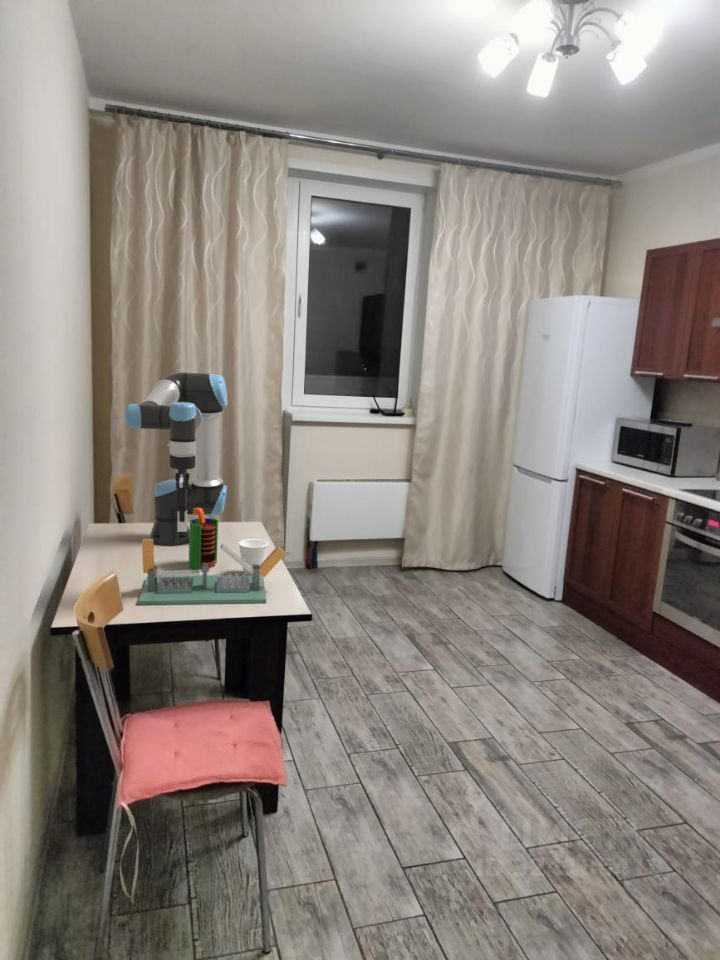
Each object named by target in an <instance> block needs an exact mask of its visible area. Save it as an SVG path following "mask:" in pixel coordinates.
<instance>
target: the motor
mask: <svg viewBox="0 0 720 960" xmlns="http://www.w3.org/2000/svg"><path fill="white" fill-rule="evenodd" d="M193 515H194V516H198V517H197V518H192V519H190V520H189V530H190V533H189V542H188V543H189V544H188V545H189V546H188V567H189V568H191V570H200V571H201V566H203V563H207V566H209V569H212V568H211V567H213V568H215V567H216V564H217V562H218V539H219V537H218V535H219V534H218V532H219V528H218V527H219V520H218V519H216V518H211V517H205V515H204V512H203V509H202V508H194V509H193Z"/></svg>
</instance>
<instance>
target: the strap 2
mask: <svg viewBox="0 0 720 960" xmlns="http://www.w3.org/2000/svg"><path fill="white" fill-rule="evenodd" d="M220 549H221V551H223V553H225V554H226V555H228V556H229V557H231V559H233V561H235V562H236V563H237V564H239V565H240V566H242V568H243V567H244V568H245V569H246V570H248V571H249V572H250V573H251V574H253V570H260V575H262V576H263V578H265V577H266V576H267V575H268V574H269V573H270V572H271V571H272V570H273V569H274V567H275V566H276V565H277V564H279V562H280V561H281V560H282V559H283V558H284V556H285V555H286V551H285V550H284V549H283V548H281V547H280V546H279V545H277V546H276V547H275V548H274V549H273V550H272V551H271V552H270V553H269V555H268V556H267V557H265V560H264V561H263V562H262V564H261V565H260V566H259V567H258V568H257V569H254V568H253V567H251V566H250V565H249V564H248V563H246V562H245V561H244V560H243V559H241V556H239V555H238V554H237V553H235V552H234V551H233V550H232V549H230V548H229V547H228V546H227V545H225V544H224V543H222V544H221V545H220Z"/></svg>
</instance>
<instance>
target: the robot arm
mask: <svg viewBox="0 0 720 960" xmlns="http://www.w3.org/2000/svg"><path fill="white" fill-rule="evenodd" d="M227 406H228V391H227V383H226V380H225V377H223V376H222V375H221V374H215V373H214V374H213V373H203V372H202V373H201V372H176V373H171V374H169V375H166V376H163V377H162V378H159V380H157V381H156V382H155V383H154V384H153V385H152V388H151V392H150V393H149V394H148V396H147V397H145V399H144V400H143V401H142V402H141V403H130V404H128V405H127V406H126V409H125V422H126V425H127V427H128V428H130V429H131V428H132V429H137V430H162V431H163V430H164V431H165V430H167V431H169V443H167V447H169V453H170V455H169V468H171V469H173V470H177V472H176V473H175V476H174V478H175V479H167V480H163V481H160V482H157V484H156V485H155V487H154V495H153V497H154V522H153V525H152V527H151V531H150V534H149V539H153V542H154V545H158V546H181V545H185V544H187V543H189V533H190V526H189V524H188V515H189V516H190V515H191V516H192V515H193V509H194V508H202V509H203V512H204V516H211V517H212V516H221V515H222V514H223V512H224V509H225V505H226V499H227V491H228V486H227V485H225V484H224V480H223V479H222V478H221V477H220V476H219V475H220V459H219V458H220V456H219V455H220V448H219V447H220V442H219V440H220V438H219V437H220V436H219V435H220V434H219V433H220V424H219V423H220V420H219V419H220V418H219V417H220V415H221V414H222V413H223V412H224V408H226V407H227ZM193 469H195V477H193V478H192V480H191V483H190V484H189V482H190V481H189V479H190V475H191V474H190V472H188V470H193Z"/></svg>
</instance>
